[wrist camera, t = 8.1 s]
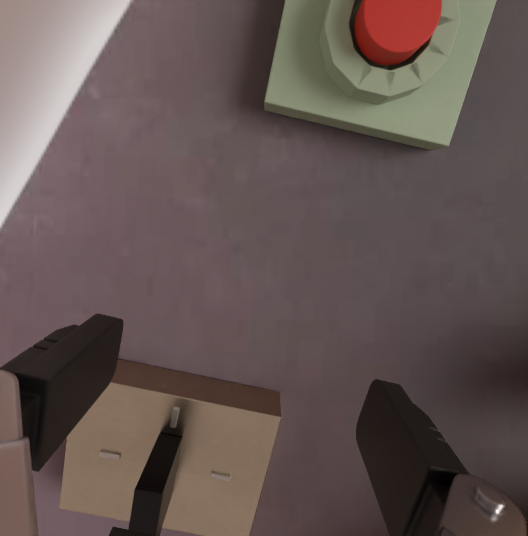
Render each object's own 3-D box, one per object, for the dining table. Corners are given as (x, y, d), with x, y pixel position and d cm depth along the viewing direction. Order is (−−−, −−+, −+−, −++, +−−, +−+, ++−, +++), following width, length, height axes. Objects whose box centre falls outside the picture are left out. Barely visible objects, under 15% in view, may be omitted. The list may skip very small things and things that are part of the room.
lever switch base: (80, 475, 28) (57, 510, 25) (95, 353, 25) (72, 376, 22) (249, 508, 28) (247, 546, 25) (280, 391, 26) (281, 419, 23)
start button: (345, 56, 18) (353, 42, 16) (365, -24, 17) (376, -47, 15) (412, 73, 18) (428, 61, 16) (435, -5, 17) (454, -27, 15)
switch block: (264, 110, 22) (263, 93, 18) (298, -55, 20) (306, -115, 16) (431, 150, 22) (466, 142, 18) (482, -8, 20) (533, -55, 16)
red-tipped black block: (159, 432, 23) (132, 492, 19) (182, 437, 23) (161, 498, 19) (149, 492, 24) (122, 563, 20) (171, 496, 25) (149, 568, 20)
